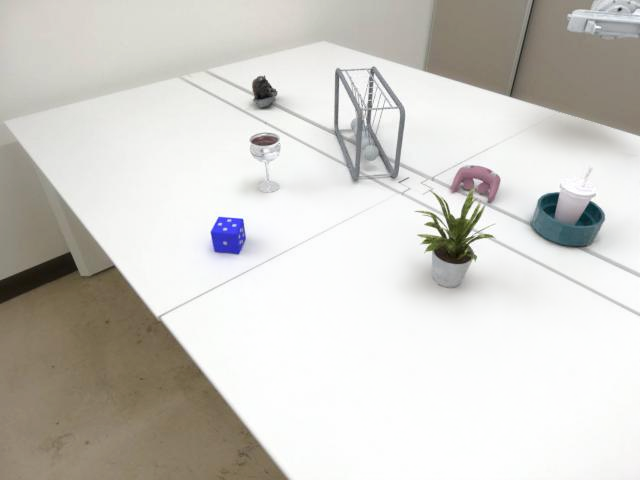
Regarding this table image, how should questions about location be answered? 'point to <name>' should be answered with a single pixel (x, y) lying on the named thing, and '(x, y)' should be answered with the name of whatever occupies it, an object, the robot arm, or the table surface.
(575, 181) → the smoothie
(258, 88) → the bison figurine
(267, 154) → the wineglass
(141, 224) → the table surface
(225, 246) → the die
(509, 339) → the table surface
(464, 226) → the house plant
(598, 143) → the table surface
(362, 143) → the newton's cradle
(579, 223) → the bowl
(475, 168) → the video game controller
